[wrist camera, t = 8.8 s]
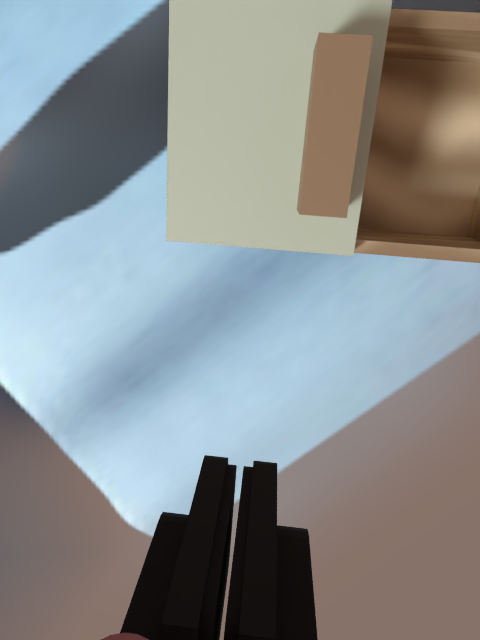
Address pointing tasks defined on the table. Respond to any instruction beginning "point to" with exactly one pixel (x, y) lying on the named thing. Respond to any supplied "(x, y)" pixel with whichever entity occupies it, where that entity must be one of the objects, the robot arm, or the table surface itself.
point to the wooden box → (425, 141)
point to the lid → (271, 120)
